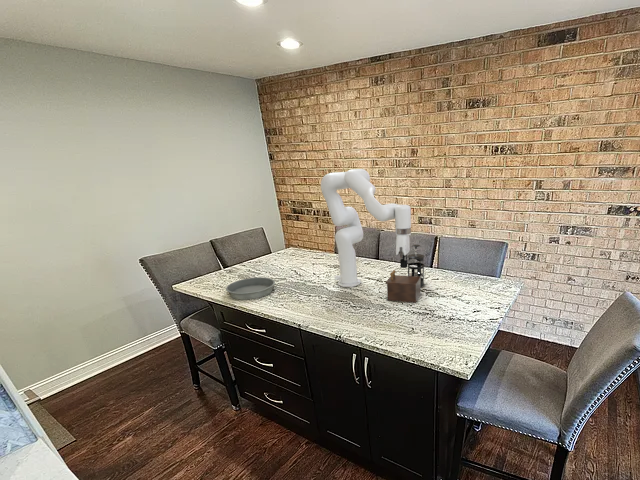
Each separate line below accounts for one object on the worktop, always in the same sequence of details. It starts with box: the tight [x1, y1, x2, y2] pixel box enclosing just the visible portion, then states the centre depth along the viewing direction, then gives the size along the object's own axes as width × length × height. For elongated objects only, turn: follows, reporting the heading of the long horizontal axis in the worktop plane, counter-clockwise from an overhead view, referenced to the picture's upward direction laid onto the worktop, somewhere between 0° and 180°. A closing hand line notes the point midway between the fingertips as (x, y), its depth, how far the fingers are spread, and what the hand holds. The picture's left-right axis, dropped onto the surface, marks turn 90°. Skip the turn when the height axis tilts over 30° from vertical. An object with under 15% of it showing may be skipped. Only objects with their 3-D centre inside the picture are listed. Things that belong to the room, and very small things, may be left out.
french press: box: [407, 244, 425, 288], centre depth 185 cm, size 12×9×23 cm
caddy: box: [386, 279, 422, 304], centre depth 172 cm, size 15×12×9 cm
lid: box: [385, 269, 422, 286], centre depth 169 cm, size 15×12×5 cm
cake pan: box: [225, 276, 276, 301], centre depth 183 cm, size 25×25×4 cm
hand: (403, 267), depth 170 cm, fingers closed
